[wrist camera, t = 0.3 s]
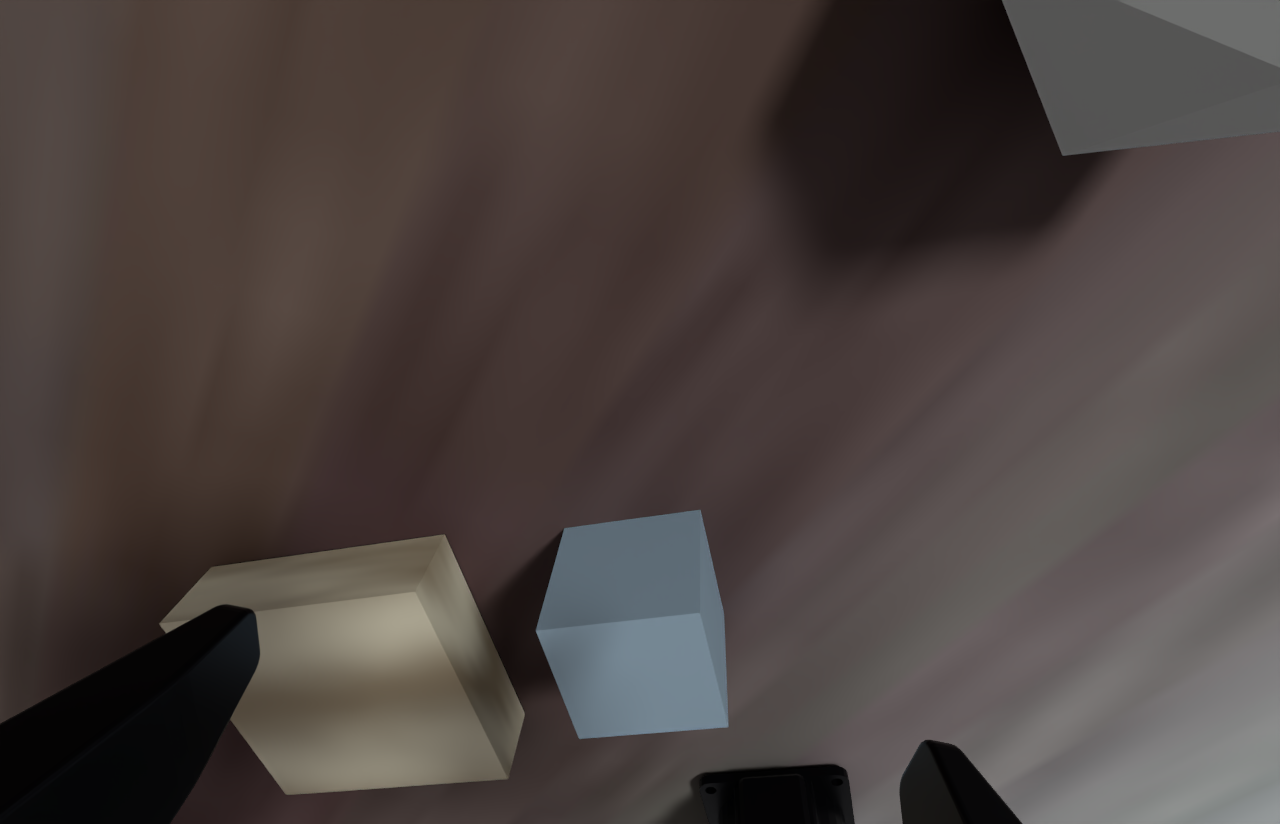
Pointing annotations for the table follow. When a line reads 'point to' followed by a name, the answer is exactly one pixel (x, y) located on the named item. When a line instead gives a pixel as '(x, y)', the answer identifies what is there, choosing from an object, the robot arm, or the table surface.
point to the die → (1151, 69)
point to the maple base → (367, 668)
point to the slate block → (637, 627)
